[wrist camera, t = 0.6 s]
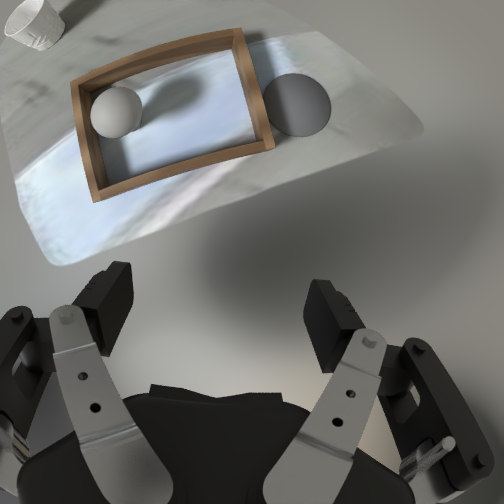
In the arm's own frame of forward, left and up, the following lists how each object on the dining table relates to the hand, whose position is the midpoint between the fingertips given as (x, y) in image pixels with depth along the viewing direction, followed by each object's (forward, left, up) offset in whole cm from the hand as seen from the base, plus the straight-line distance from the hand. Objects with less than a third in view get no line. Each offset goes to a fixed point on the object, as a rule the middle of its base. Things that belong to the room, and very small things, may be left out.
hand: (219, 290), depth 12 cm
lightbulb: (-15, -8, -27) cm, 32 cm away
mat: (-12, +16, -27) cm, 33 cm away
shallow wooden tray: (-15, -3, -27) cm, 31 cm away
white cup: (-40, -21, -27) cm, 53 cm away
